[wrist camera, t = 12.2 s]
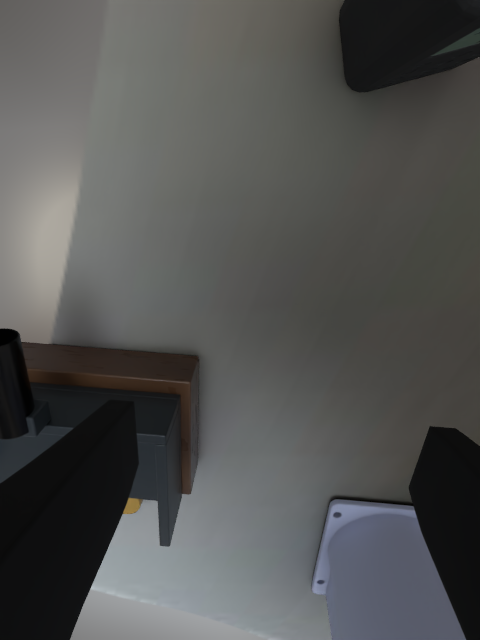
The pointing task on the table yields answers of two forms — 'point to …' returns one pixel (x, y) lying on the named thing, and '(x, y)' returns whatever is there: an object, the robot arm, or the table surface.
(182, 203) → the table surface
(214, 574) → the table surface
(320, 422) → the table surface
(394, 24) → the walkie-talkie
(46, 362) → the stand
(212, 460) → the table surface
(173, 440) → the dark grey tray
